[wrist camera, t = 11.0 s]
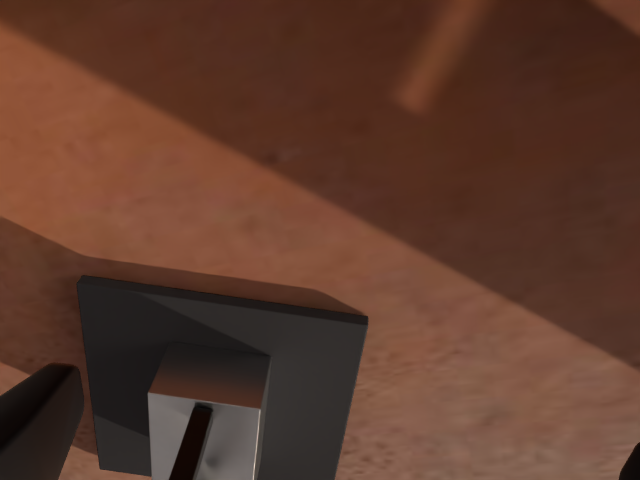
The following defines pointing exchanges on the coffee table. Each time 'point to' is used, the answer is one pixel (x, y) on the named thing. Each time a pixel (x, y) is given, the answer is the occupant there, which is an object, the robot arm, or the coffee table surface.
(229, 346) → the mat
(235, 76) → the coffee table surface
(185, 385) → the silver handled block
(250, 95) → the coffee table surface
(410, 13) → the coffee table surface
